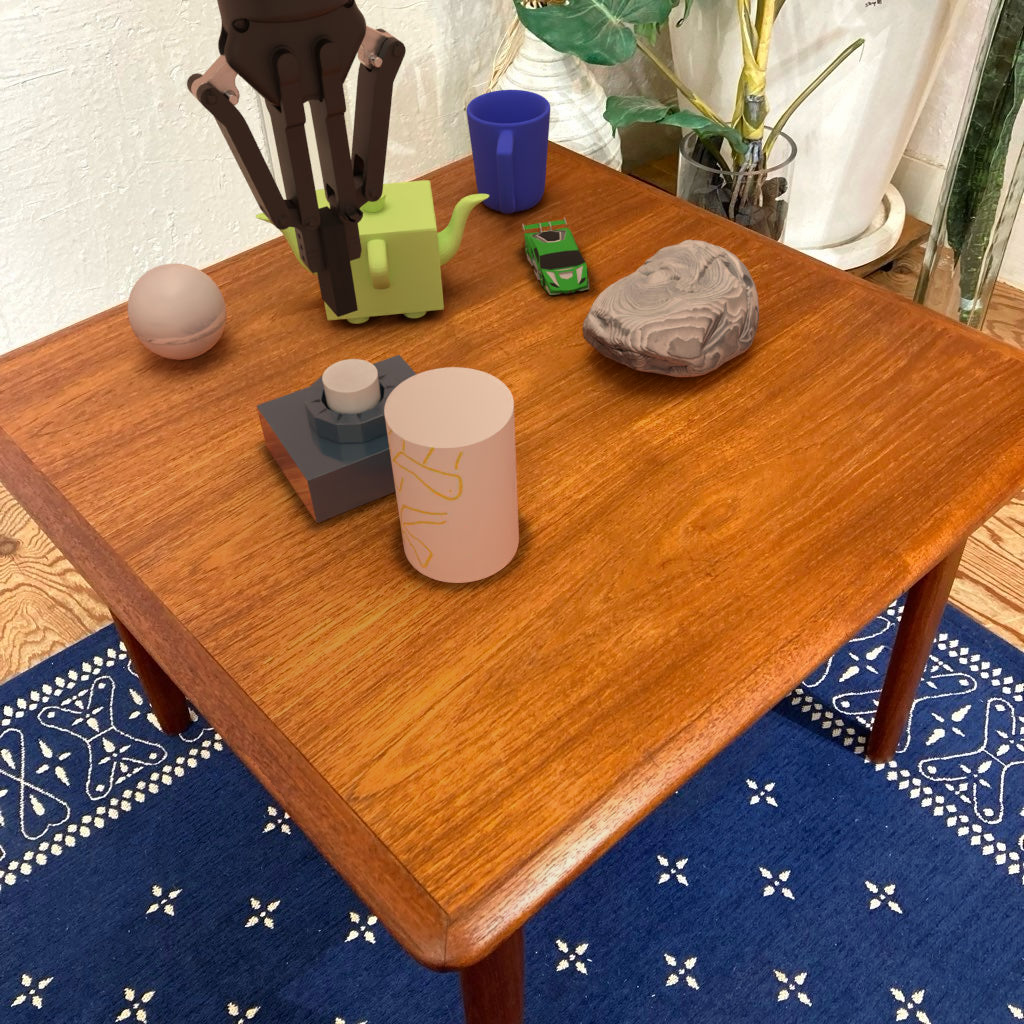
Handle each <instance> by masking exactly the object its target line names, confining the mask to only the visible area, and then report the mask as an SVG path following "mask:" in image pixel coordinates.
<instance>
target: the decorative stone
mask: <svg viewBox="0 0 1024 1024" xmlns="http://www.w3.org/2000/svg"><path fill="white" fill-rule="evenodd" d="M759 321H760V302H759V294H758V290H757V285H756V283H755V281H754V278H753V277H752V275H751V273H750V271H749V269H748V267H747V266H746V265H745V263H743V261H742V260H741V259H740V258H739V257H738V256H737V255H735V254H734V253H733V252H731V251H729V250H728V249H726V248H724V247H721V246H720V245H716V244H712V243H710V242H708V241H705V240H697V239H694V240H693V239H684V240H683V241H682V242H680V243H678V244H672V245H667V246H665V247H662V248H660V249H658V250H657V252H656V253H655V254H653V255H652V256H650V257H649V258H647V259H646V260H645V262H644V264H642V265H640V267H638V268H637V269H636V270H635V271H634V272H632V273H631V274H628V275H626V276H624V277H622V278H619V279H618V280H617V281H615V282H613V283H612V284H610V285H608V286H607V287H606V288H605V289H603V291H601V292H600V293H599V294H598V295H597V297H596V298H595V300H594V301H593V303H592V304H591V306H590V309H589V311H588V313H587V315H586V316H585V318H584V321H583V323H582V336H583V339H584V340H585V342H587V344H589V345H590V346H592V347H593V348H594V349H595V350H597V352H599V353H600V354H601V355H602V356H604V357H605V358H608V359H611V360H613V361H615V362H617V363H619V364H622V365H624V366H627V367H628V368H630V369H633V370H635V371H638V372H646V373H652V374H657V375H659V374H660V375H664V376H669V377H674V378H693V377H700V376H704V375H706V374H708V373H711V372H713V371H715V370H717V369H718V368H720V367H721V366H722V365H724V364H725V363H726V362H729V361H731V360H732V359H734V358H736V357H737V356H740V355H742V354H744V353H745V352H746V351H747V350H749V348H750V347H751V346H752V344H753V343H754V340H755V337H756V333H757V331H758V328H759V327H758V326H759Z"/></svg>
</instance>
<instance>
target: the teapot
mask: <svg viewBox="0 0 1024 1024" xmlns="http://www.w3.org/2000/svg"><path fill="white" fill-rule="evenodd" d="M315 190H316V196H317V201H318V207H319V208H322V207H326V206H328V207H329V209H330V205H329V202H328V201H327V199H326V196H325V190H324V188H322V189H315ZM488 197H489V195H488V194H478V193H473V194H470V195H467V196H464V197H462V198H461V199H460V200H458V202H457V203H456V204H455V206H454V208H453V210H452V214H451V217H450V219H449V220H450V221H449V223H448V224H447V226H446V227H445V228H444V229H442V230H441V231H438V226H437V220H436V212H435V206H434V200H433V191H432V185H431V180H430V179H425V180H424V179H423V180H411V181H400V182H390V183H383V191H382V196H381V197H380V199H379V200H377V201H375V202H370V201H368V202H367V203H365V204H364V205H363V206H362V207H360V210H361V211H362V212H363V217H362V219H361V221H360V222H358V229H359V235H360V236H359V237H360V243H361V249H362V251H361V256H360V258H358V259H355V260H352V261H350V264H351V270H352V276H353V283H354V289H355V295H356V301H357V308H358V310H357V311H354V312H351V313H349V314H346V315H343V316H340V317H337V316H336V314H335V313H334V312H333V311H332V310H331V309H330V307H329V306H328V305H327V304H326V303H325V302H324V301H323V303H324V309H325V315H326V320H327V321H337V320H346V321H347V322H349V323H351V324H362V323H365V322H368V320H369V319H370V317H379V316H381V317H382V316H391V315H398V314H399V315H401V314H402V315H404V317H406V318H408V319H419V318H421V317H424V316H425V315H426V314H427V312H431V311H441V310H442V311H443V310H445V304H444V303H445V302H444V293H443V292H444V291H443V281H442V271H441V268H442V266H444V265H446V264H448V263H449V262H450V261H451V260H452V259H454V257H455V256H456V254H457V253H458V251H459V249H460V247H461V244H462V240H463V237H464V233H465V229H466V223H467V220H468V218H469V216H470V214H471V212H472V210H474V208H475V207H476V206H477V205H479V204H480V203H483V202H482V201H484V200H486V199H487V198H488ZM255 218H256V219H258V220H261V221H264V222H266V223H268V224H271V225H273V226H274V224H273V223H272V222H271V221H270V220H269V219H268V218H267V216H266V215H265V214H264V213H263V212H261V213H257V214H256V215H255ZM278 230H279V231H280V232H281V233H282V235H283V237H284V238H285V240H286V241H287V244H288V245H289V247H290V249H291V251H292V253H293V256H294V257H295V258H296V260H297V261H298V263H299V264H300V266H302V267H303V268H304V269H305V270H306V271H307V272H309V273H311V274H312V275H314V276H317V277H318V275H317V272H316V273H312V272H311V271H310V270H309V269H308V267H307V266H306V265H305V264H304V263H303V261H302V260H301V258H300V254H299V249H298V244H297V239H296V233H295V228H294V227H288V228H287V229H284V230H280V229H278Z"/></svg>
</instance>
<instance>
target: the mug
mask: <svg viewBox="0 0 1024 1024" xmlns="http://www.w3.org/2000/svg"><path fill="white" fill-rule="evenodd" d="M466 118H467V125H468V132H469V139H470V146H471V147H470V148H471V154H472V161H473V168H474V169H473V170H474V175H475V181H476V183H475V184H476V190H477V194H488V195H489V197H488V198H487V199H486V200H484V201H482V202H481V203H483V204H484V205H485V206H486V207H488V209H491V210H494V211H497V212H501V213H502V214H505V215H507V214H508V215H510V214H513V213H518V212H524V211H526V210H529V209H531V208H533V207H535V206H536V205H538V203H540V201H541V200H542V198H543V196H544V194H545V189H546V178H547V177H546V175H547V162H548V149H549V137H550V135H549V133H550V122H551V121H550V120H551V104H550V102H549V101H548V99H547V98H545V97H544V96H543V95H540V94H538V93H536V92H533V91H529V90H523V89H500V90H494V91H489V92H485V93H483V94H480V95H478V96H476V97H475V98H473V99H471V101H469V103H468V104H467V106H466Z"/></svg>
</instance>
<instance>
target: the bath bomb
mask: <svg viewBox="0 0 1024 1024" xmlns="http://www.w3.org/2000/svg"><path fill="white" fill-rule="evenodd" d="M227 314H228V313H227V304H226V300H225V298H224V296H223V293H222V291H221V289H220V288H219V285H218V284H217V282H215V281H214V280H213V279H212V278H211V277H210V276H209V275H208V274H207V273H205V272H203V271H202V270H200V269H198V268H197V267H194V266H193V265H188V264H185V263H176V262H175V263H174V262H173V263H166V264H161V265H158V266H154V267H152V268H151V269H149V270H147V271H146V272H145V273H143V274H142V275H141V277H139V278H138V279H137V280H136V282H135V283H134V285H133V287H132V289H131V291H130V294H129V297H128V300H127V317H128V322H129V325H130V328H131V330H132V332H133V334H134V336H135V337H136V338H137V340H139V342H140V343H141V344H142V346H144V347H145V348H146V349H147V350H149V351H150V352H151V353H154V354H156V355H158V356H159V357H162V358H164V359H165V358H166V359H170V360H177V361H185V360H191V359H195V358H197V357H200V356H202V355H204V354H206V353H207V352H208V351H210V350H211V349H212V348H213V347H214V346H216V344H217V343H218V342H219V340H220V338H221V337H222V335H223V333H224V330H225V327H226V324H227V316H228V315H227Z"/></svg>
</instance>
